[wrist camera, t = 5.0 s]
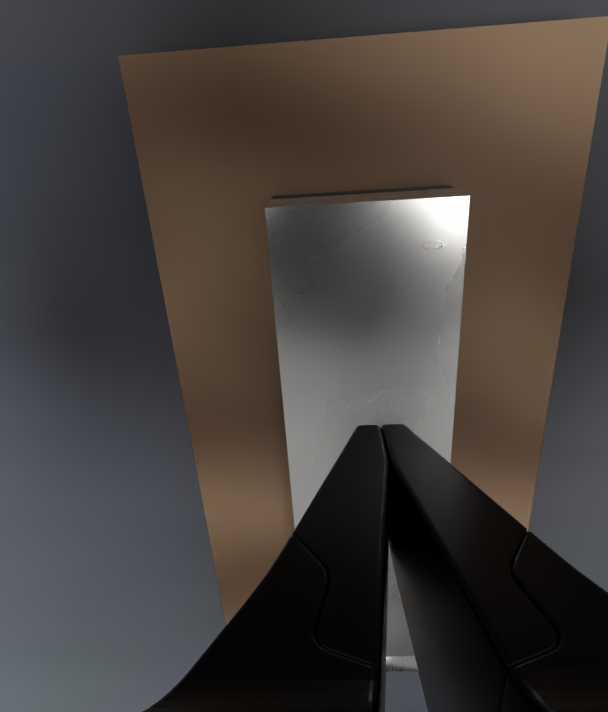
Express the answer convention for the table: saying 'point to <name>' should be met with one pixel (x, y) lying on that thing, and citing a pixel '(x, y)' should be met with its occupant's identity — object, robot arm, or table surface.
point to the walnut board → (362, 176)
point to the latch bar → (366, 332)
